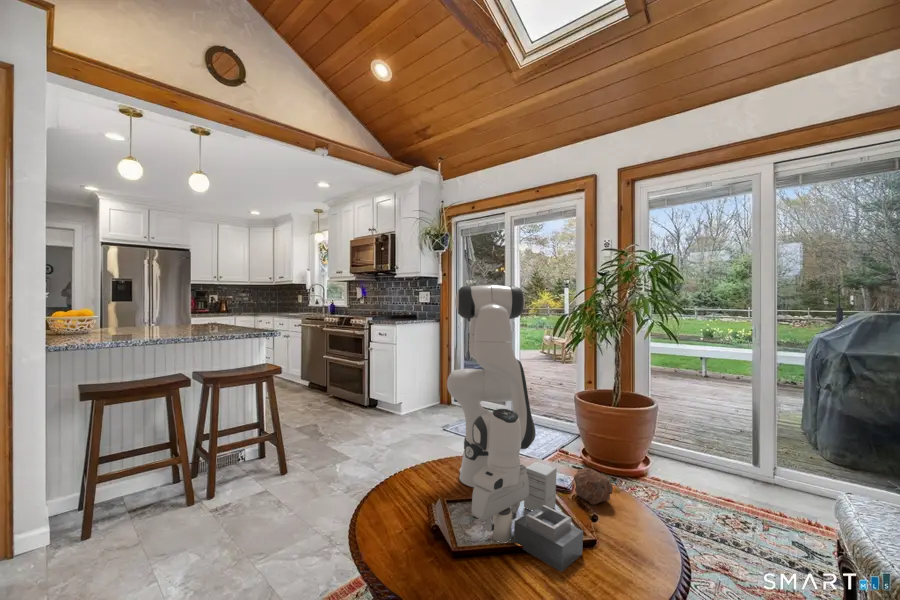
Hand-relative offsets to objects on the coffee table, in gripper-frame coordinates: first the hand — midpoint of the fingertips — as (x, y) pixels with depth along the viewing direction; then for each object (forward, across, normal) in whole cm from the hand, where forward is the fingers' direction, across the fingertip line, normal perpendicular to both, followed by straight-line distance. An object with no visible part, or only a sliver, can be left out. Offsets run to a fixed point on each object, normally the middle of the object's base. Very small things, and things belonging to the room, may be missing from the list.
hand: (501, 524), depth 106 cm
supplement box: (+4, -22, -2) cm, 22 cm away
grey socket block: (+4, -7, +11) cm, 13 cm away
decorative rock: (+4, -40, +6) cm, 40 cm away
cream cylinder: (+4, 0, 0) cm, 4 cm away
